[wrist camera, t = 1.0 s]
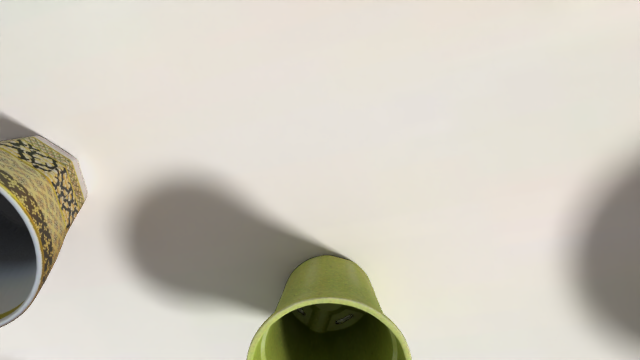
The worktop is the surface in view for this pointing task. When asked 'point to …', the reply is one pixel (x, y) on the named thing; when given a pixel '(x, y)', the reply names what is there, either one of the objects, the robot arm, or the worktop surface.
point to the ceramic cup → (33, 216)
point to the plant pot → (328, 318)
